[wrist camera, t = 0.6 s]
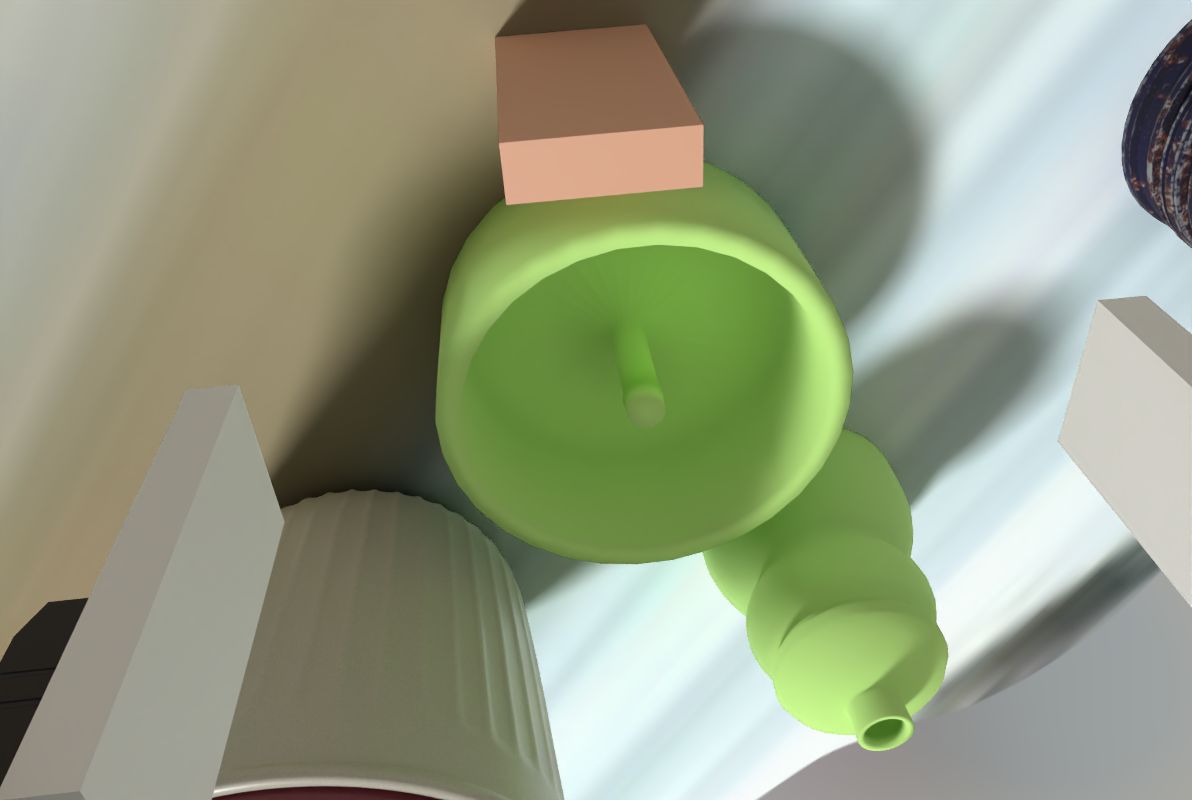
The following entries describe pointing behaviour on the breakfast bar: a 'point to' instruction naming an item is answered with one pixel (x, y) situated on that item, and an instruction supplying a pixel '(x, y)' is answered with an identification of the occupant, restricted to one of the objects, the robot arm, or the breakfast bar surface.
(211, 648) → the robot arm
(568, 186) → the domino
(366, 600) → the canister
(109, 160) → the breakfast bar surface
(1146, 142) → the storage jar
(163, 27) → the breakfast bar surface
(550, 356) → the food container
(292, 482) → the breakfast bar surface
